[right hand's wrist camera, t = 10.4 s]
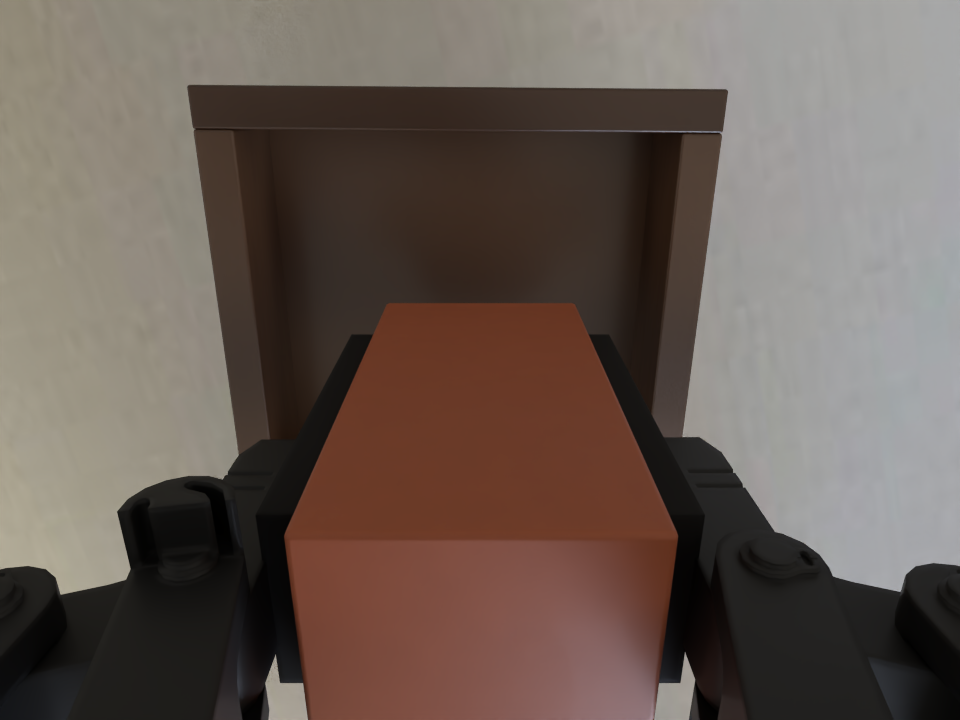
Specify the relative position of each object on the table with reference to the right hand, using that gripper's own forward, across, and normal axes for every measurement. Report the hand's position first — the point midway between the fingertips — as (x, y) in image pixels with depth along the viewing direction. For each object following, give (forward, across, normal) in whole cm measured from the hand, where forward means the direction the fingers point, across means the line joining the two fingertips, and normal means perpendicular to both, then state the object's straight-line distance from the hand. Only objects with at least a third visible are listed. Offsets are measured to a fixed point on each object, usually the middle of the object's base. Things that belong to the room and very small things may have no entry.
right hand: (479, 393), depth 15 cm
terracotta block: (0, 0, 0) cm, 0 cm away
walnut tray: (+7, -1, -8) cm, 11 cm away
